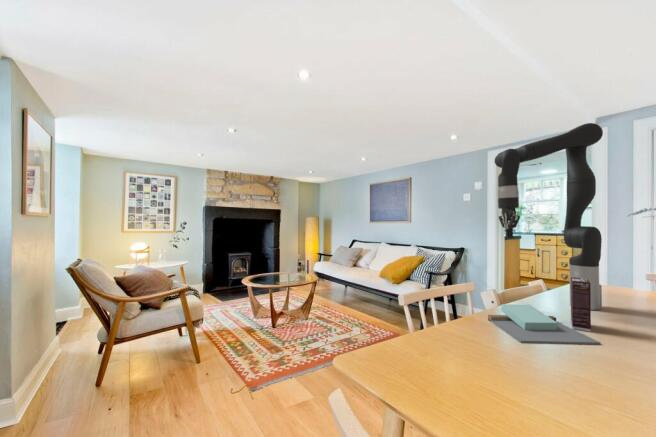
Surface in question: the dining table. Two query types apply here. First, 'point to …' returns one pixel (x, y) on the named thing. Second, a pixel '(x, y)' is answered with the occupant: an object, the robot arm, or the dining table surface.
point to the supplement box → (580, 304)
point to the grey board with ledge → (541, 332)
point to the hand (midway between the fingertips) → (509, 237)
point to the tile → (528, 317)
